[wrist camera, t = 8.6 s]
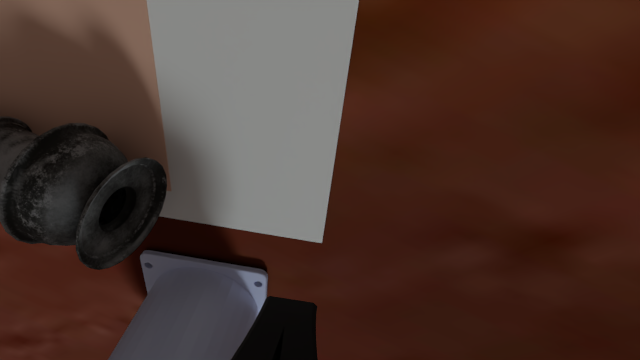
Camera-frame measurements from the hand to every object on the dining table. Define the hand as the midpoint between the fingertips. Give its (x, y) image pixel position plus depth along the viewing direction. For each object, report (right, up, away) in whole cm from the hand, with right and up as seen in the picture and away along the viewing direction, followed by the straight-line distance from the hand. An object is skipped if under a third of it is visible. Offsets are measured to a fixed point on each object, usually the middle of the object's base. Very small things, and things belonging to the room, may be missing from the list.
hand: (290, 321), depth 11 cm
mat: (-9, +8, +8) cm, 14 cm away
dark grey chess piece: (-7, +2, +6) cm, 10 cm away
